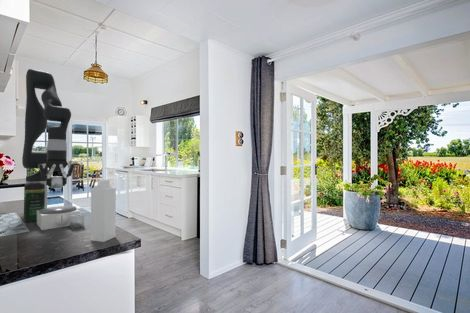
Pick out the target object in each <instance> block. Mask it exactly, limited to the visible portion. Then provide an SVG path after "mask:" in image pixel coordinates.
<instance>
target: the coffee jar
mask: <svg viewBox="0 0 470 313" xmlns="http://www.w3.org/2000/svg"><path fill="white" fill-rule="evenodd" d="M23 192H24V193H23V221H24V222H25V223H37V210H41V209H44V208H45V184H44V183H41V182H38V181H33V182H29V183H27V184H26V183H25V184H24V188H23Z"/></svg>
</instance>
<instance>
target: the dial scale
mask: <svg viewBox="0 0 470 313" xmlns="http://www.w3.org/2000/svg"><path fill="white" fill-rule="evenodd" d="M79 214H81V211H80V210H79V209H77V207H76V206H73V205H59V206H51V207H47V208H44V209H41V210H37V222H36V225H37V226H38V227H39V228H40V230H41V231H45V230H51V229H57V228H59V229H60V228H65V227H71V216H72V215H79Z"/></svg>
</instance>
